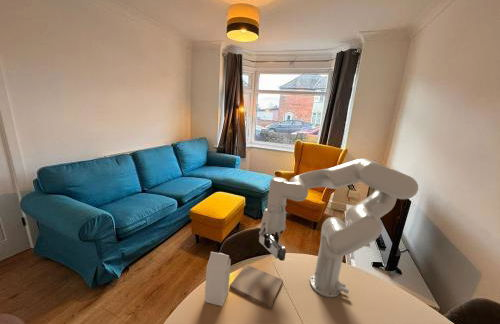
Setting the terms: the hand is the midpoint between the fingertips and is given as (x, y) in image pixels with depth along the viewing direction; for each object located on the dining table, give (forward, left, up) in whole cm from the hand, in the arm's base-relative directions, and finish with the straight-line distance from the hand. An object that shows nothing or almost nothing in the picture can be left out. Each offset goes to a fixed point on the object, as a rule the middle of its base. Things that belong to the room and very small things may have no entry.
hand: (270, 245), depth 91 cm
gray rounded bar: (-1, +1, -1) cm, 2 cm away
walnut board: (+1, +8, -15) cm, 17 cm away
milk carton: (+12, +21, -16) cm, 29 cm away
